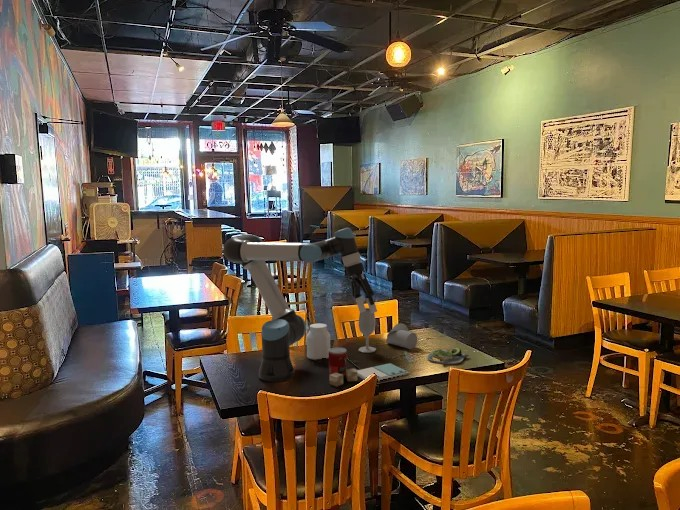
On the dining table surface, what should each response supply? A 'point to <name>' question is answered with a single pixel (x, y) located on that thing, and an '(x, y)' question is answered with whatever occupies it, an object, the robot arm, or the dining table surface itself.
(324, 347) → the jar
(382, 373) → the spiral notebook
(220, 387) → the dining table surface
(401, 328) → the bent grey cylinder
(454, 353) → the salad plate
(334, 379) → the maple block
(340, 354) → the canned food
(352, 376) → the maple block
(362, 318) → the wineglass
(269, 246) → the robot arm
